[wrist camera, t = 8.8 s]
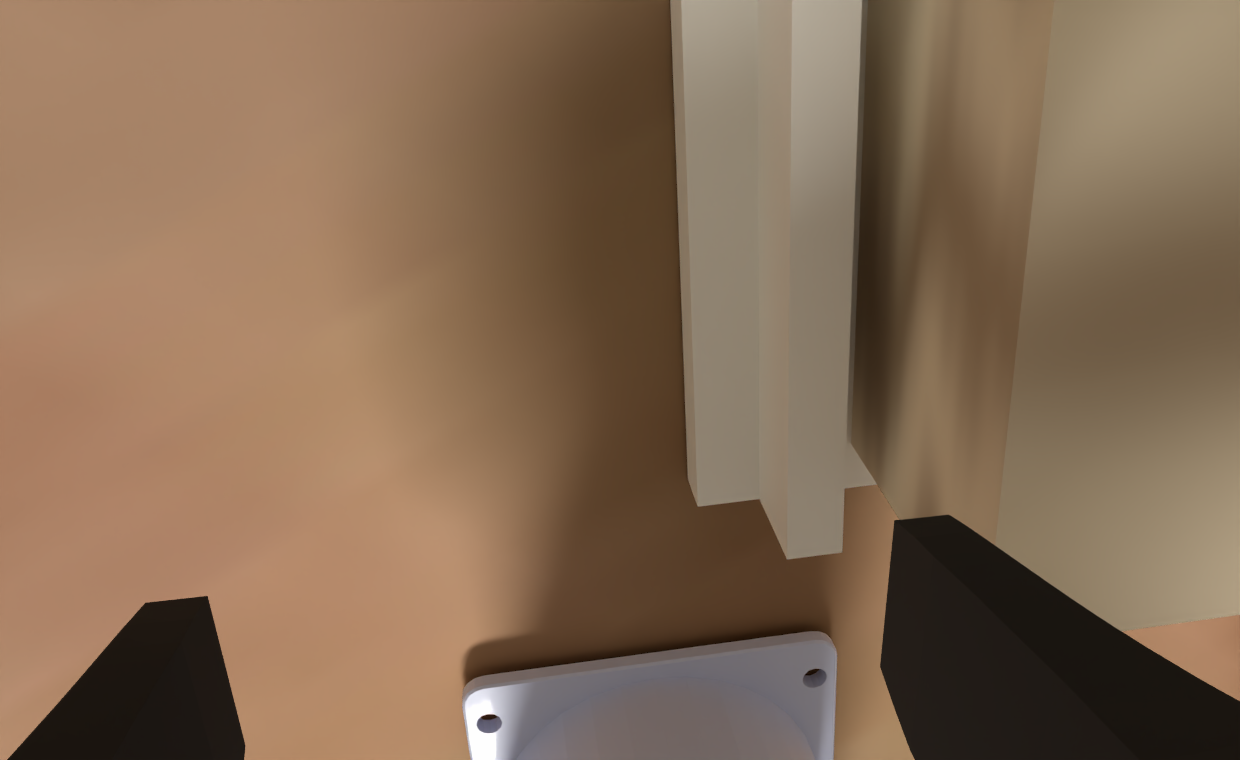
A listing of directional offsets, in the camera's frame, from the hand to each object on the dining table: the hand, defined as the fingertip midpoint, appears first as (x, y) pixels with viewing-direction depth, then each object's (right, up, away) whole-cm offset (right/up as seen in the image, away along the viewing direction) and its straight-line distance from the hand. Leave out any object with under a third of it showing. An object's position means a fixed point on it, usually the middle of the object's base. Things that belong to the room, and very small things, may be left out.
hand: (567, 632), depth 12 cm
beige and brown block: (+7, +6, +7) cm, 12 cm away
